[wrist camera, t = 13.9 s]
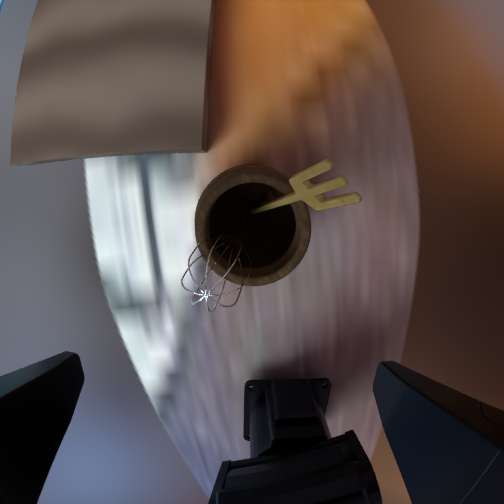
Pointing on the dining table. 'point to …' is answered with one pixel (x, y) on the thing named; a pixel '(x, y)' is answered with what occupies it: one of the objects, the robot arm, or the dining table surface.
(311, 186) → the utensil holder
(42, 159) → the walnut plinth
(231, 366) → the dining table surface
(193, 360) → the dining table surface
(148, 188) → the dining table surface
